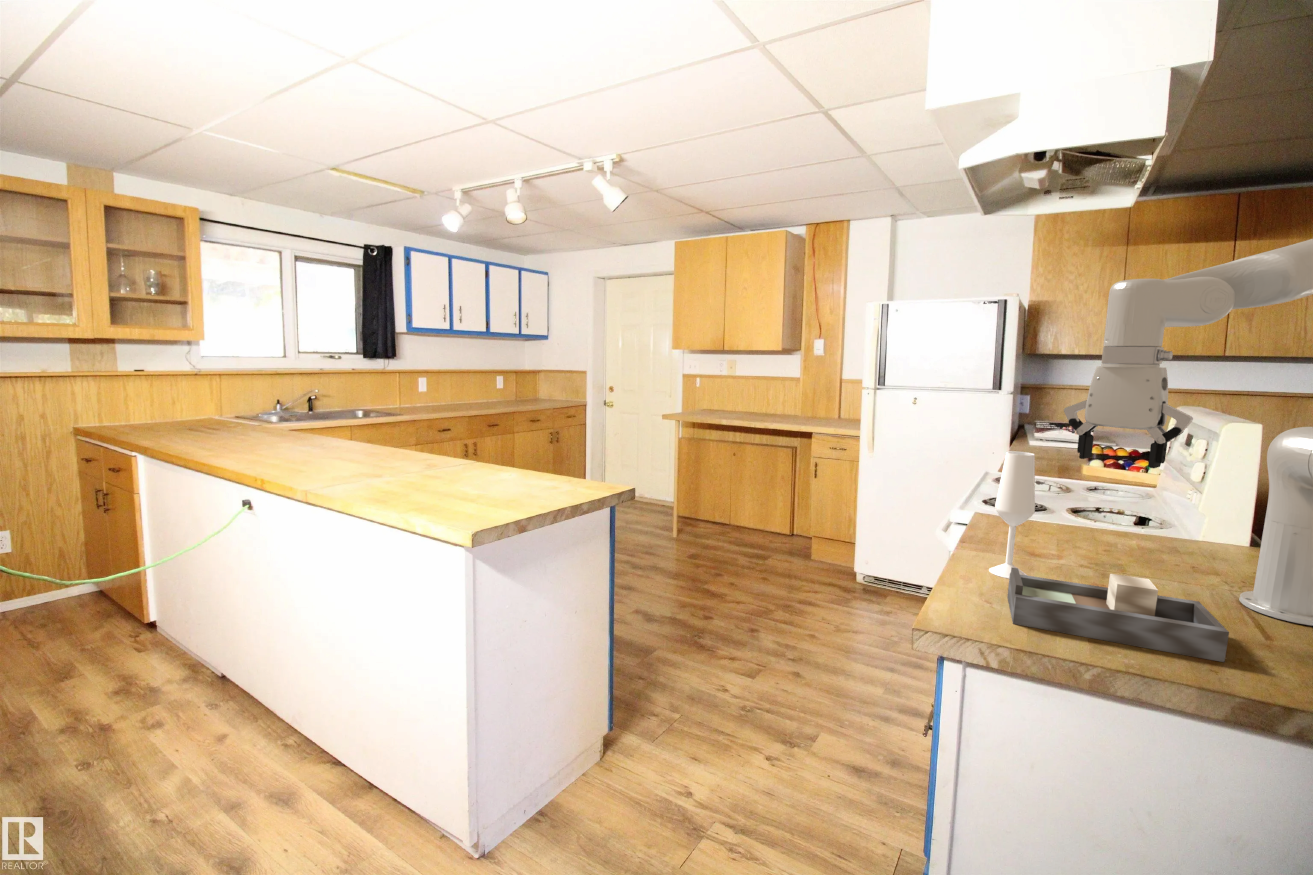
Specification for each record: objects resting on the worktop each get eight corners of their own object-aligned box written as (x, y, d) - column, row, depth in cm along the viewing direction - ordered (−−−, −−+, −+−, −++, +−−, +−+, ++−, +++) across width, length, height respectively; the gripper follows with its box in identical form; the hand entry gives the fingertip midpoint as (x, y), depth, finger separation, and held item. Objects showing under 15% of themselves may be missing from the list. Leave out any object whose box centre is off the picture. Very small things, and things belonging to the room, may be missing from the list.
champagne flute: (992, 564, 125) (1003, 449, 121) (1030, 572, 120) (1043, 453, 117) (985, 573, 120) (997, 453, 116) (1024, 582, 115) (1038, 457, 112)
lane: (1194, 628, 97) (1200, 592, 96) (1224, 662, 86) (1230, 622, 85) (1007, 597, 108) (1010, 564, 107) (1012, 623, 97) (1016, 587, 96)
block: (1144, 609, 96) (1148, 579, 96) (1153, 621, 92) (1158, 589, 91) (1106, 602, 99) (1110, 573, 98) (1113, 614, 94) (1117, 583, 93)
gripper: (1207, 359, 93) (1193, 468, 95) (1080, 357, 107) (1070, 453, 110) (1191, 359, 89) (1176, 473, 91) (1060, 357, 103) (1050, 456, 105)
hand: (1118, 462), depth 100 cm, fingers open, 9 cm apart
